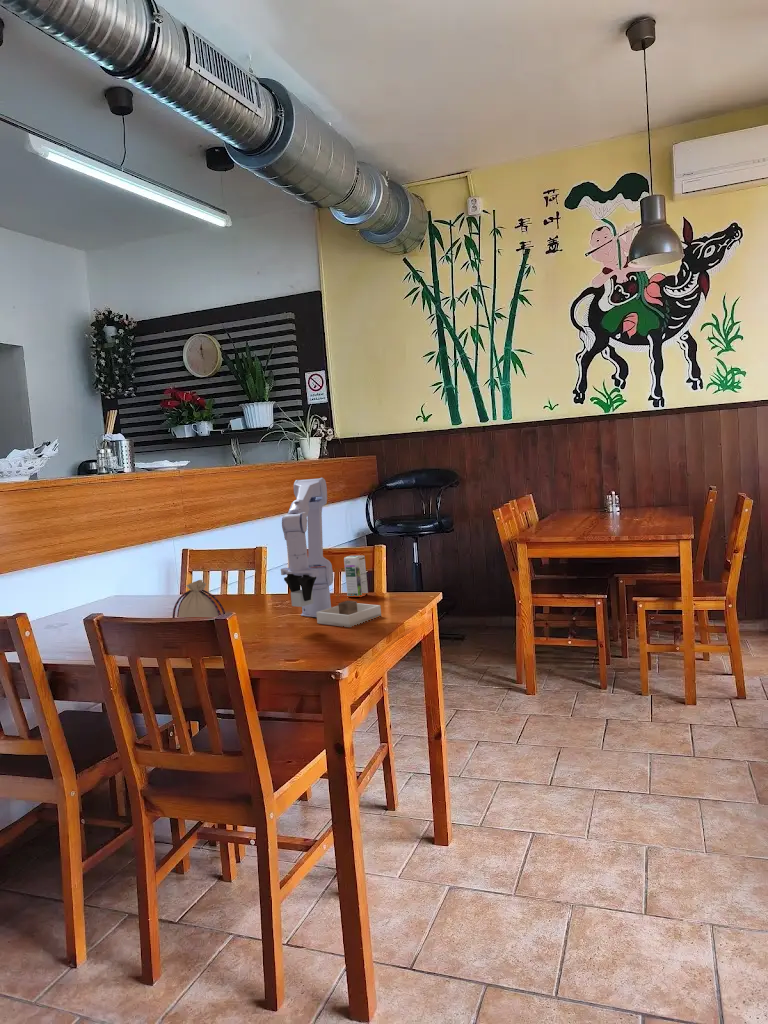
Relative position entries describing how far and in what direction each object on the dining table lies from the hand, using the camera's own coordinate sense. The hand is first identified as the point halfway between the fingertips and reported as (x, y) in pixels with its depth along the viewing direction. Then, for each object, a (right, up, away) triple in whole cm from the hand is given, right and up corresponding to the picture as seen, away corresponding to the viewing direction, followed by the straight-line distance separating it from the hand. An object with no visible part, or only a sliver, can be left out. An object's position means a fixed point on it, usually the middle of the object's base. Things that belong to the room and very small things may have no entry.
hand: (302, 599), depth 216 cm
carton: (0, -1, 0) cm, 1 cm away
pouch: (-28, -13, -7) cm, 31 cm away
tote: (+13, -7, +9) cm, 18 cm away
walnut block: (+13, -6, +9) cm, 17 cm away
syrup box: (+15, -4, +45) cm, 48 cm away
